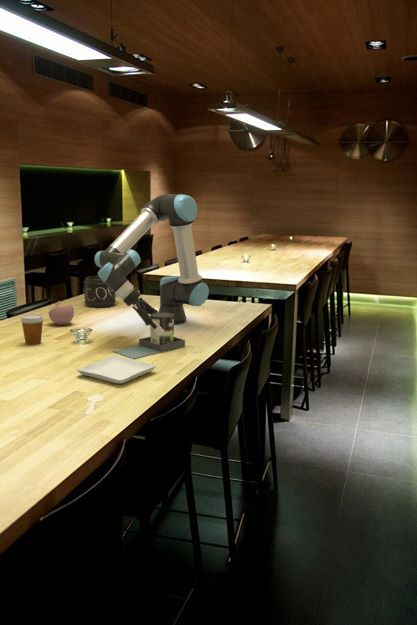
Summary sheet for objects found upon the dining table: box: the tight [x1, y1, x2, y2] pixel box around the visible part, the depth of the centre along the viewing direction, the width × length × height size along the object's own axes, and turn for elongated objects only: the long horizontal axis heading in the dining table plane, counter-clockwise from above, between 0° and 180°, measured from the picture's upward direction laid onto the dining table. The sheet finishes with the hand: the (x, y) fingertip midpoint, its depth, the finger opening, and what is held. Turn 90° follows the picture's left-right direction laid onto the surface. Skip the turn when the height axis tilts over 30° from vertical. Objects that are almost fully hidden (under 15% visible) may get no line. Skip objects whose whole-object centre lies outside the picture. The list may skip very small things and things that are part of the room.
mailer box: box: [112, 336, 186, 360], centre depth 254 cm, size 28×14×3 cm, turn 136°
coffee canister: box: [83, 275, 117, 309], centre depth 339 cm, size 18×18×16 cm
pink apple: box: [48, 300, 75, 326], centre depth 293 cm, size 12×12×11 cm
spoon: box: [84, 393, 105, 416], centre depth 191 cm, size 5×18×1 cm, turn 2°
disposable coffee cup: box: [20, 313, 45, 346], centre depth 258 cm, size 10×10×12 cm
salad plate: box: [76, 355, 157, 385], centre depth 220 cm, size 21×21×3 cm
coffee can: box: [149, 311, 175, 345], centre depth 258 cm, size 10×10×14 cm
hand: (163, 329), depth 257 cm, fingers open, 13 cm apart
